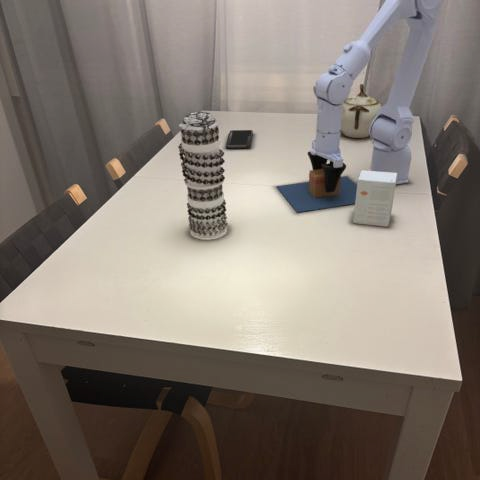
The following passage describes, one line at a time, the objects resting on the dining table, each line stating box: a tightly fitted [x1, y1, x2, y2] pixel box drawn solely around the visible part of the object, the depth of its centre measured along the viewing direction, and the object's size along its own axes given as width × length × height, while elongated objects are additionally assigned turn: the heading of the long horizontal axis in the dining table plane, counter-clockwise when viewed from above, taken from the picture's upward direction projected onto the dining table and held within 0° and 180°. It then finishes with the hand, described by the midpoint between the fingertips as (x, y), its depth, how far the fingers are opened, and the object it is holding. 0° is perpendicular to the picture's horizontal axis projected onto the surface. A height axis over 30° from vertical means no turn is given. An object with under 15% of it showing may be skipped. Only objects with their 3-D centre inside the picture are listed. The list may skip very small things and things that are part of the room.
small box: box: [352, 169, 397, 228], centre depth 105 cm, size 8×6×10 cm
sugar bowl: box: [341, 83, 383, 139], centre depth 151 cm, size 20×15×15 cm
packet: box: [308, 169, 342, 198], centre depth 119 cm, size 7×5×6 cm
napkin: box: [276, 175, 357, 214], centre depth 120 cm, size 20×16×1 cm
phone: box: [225, 129, 254, 150], centre depth 154 cm, size 8×1×15 cm
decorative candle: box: [177, 111, 228, 241], centre depth 100 cm, size 9×9×25 cm
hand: (324, 185), depth 119 cm, fingers open, 7 cm apart
